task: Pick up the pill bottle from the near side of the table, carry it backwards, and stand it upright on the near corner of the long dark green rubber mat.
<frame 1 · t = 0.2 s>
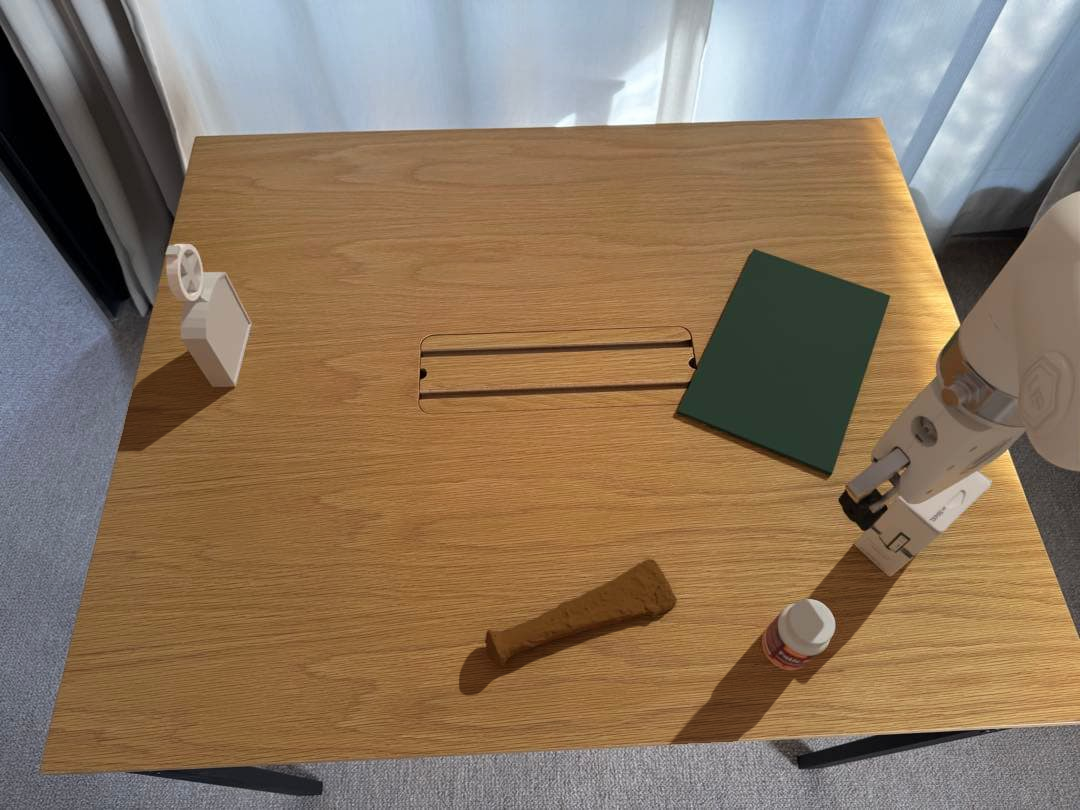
hand: (899, 488, 63), 19 cm above the table, tool pointing down, fingers open, 9 cm apart
ink box: (895, 537, 80), on the table
pill bottle: (785, 646, 74), on the table
mat: (787, 353, 93), on the table
primitive tool: (581, 614, 76), on the table
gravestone: (233, 355, 93), on the table
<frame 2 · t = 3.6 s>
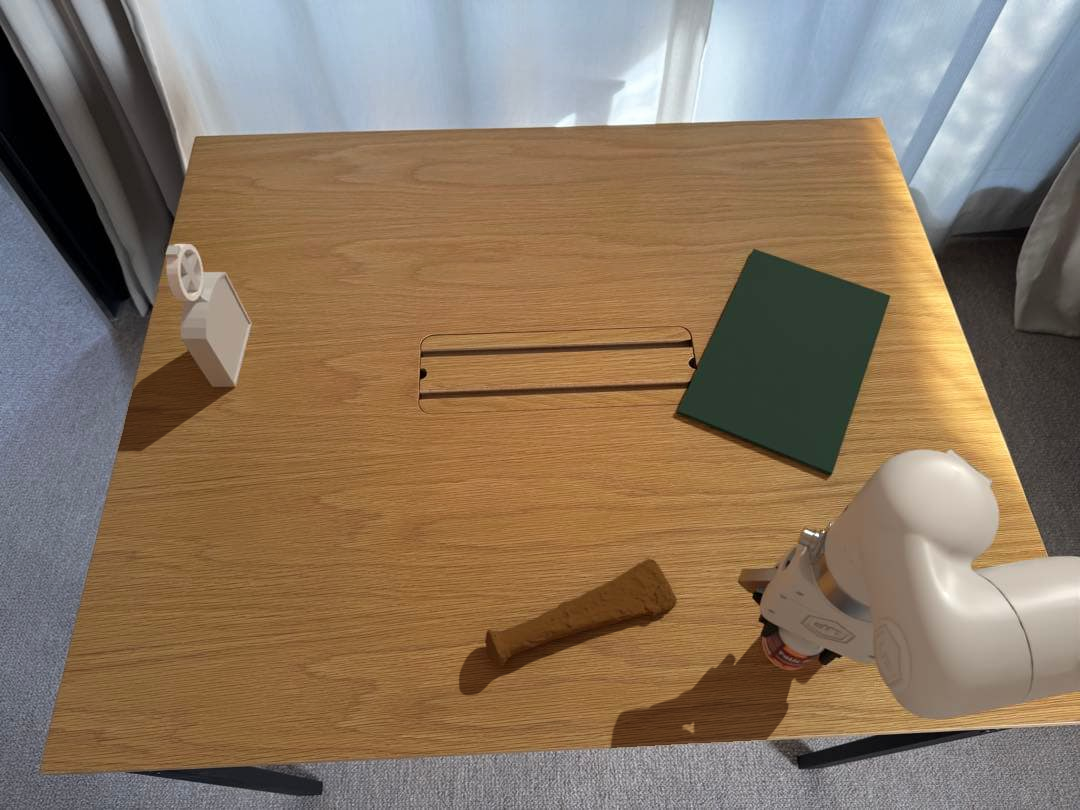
hand: (797, 635, 71), 4 cm above the table, tool pointing down, fingers closed on pill bottle, 4 cm apart
pill bottle: (785, 646, 74), on the table, touching gripper
everything else where it was.
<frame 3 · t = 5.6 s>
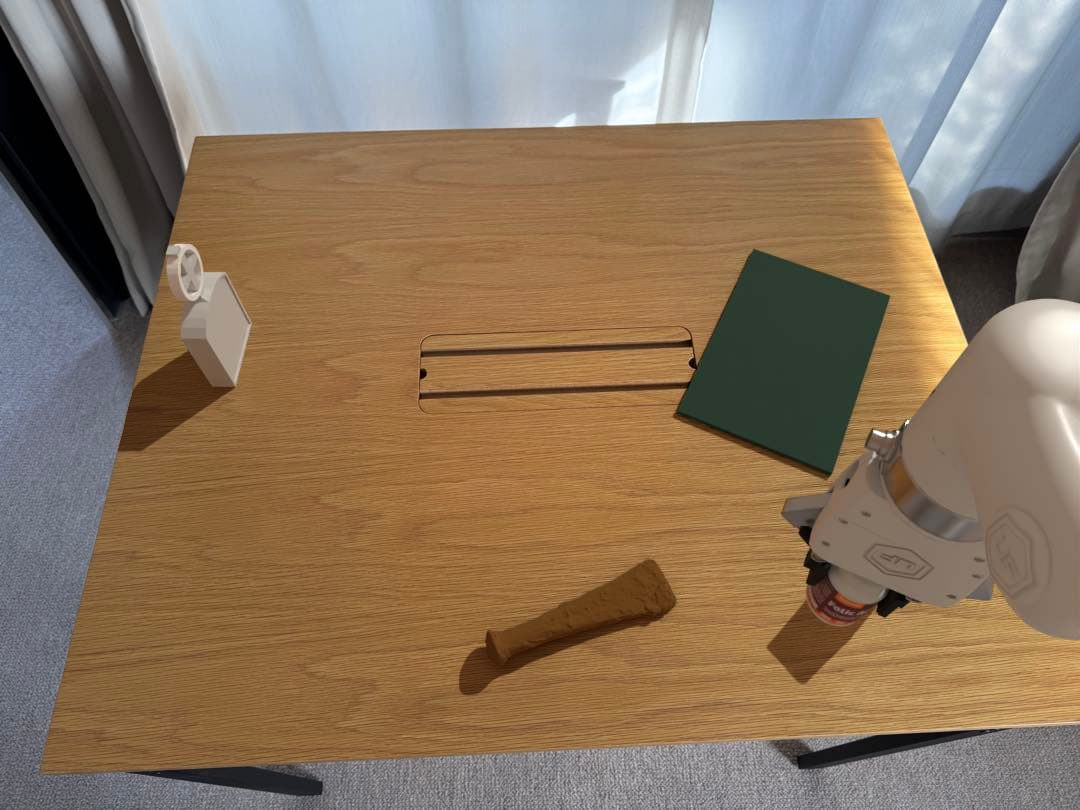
hand: (849, 583, 60), 17 cm above the table, tool pointing down, fingers closed on pill bottle, 4 cm apart
pill bottle: (833, 599, 63), point 13 cm above the table, touching gripper
everything else where it was.
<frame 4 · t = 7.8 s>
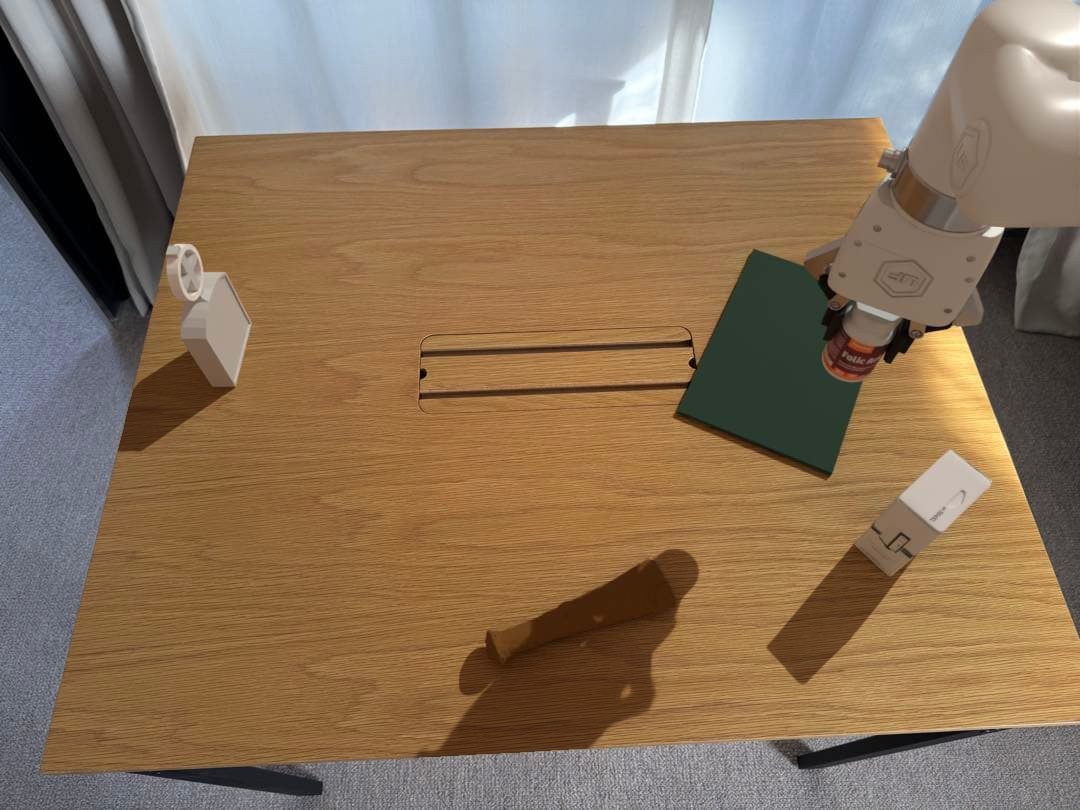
hand: (860, 339, 69), 20 cm above the table, tool pointing down, fingers closed on pill bottle, 4 cm apart
pill bottle: (845, 364, 73), point 16 cm above the table, touching gripper
everything else where it was.
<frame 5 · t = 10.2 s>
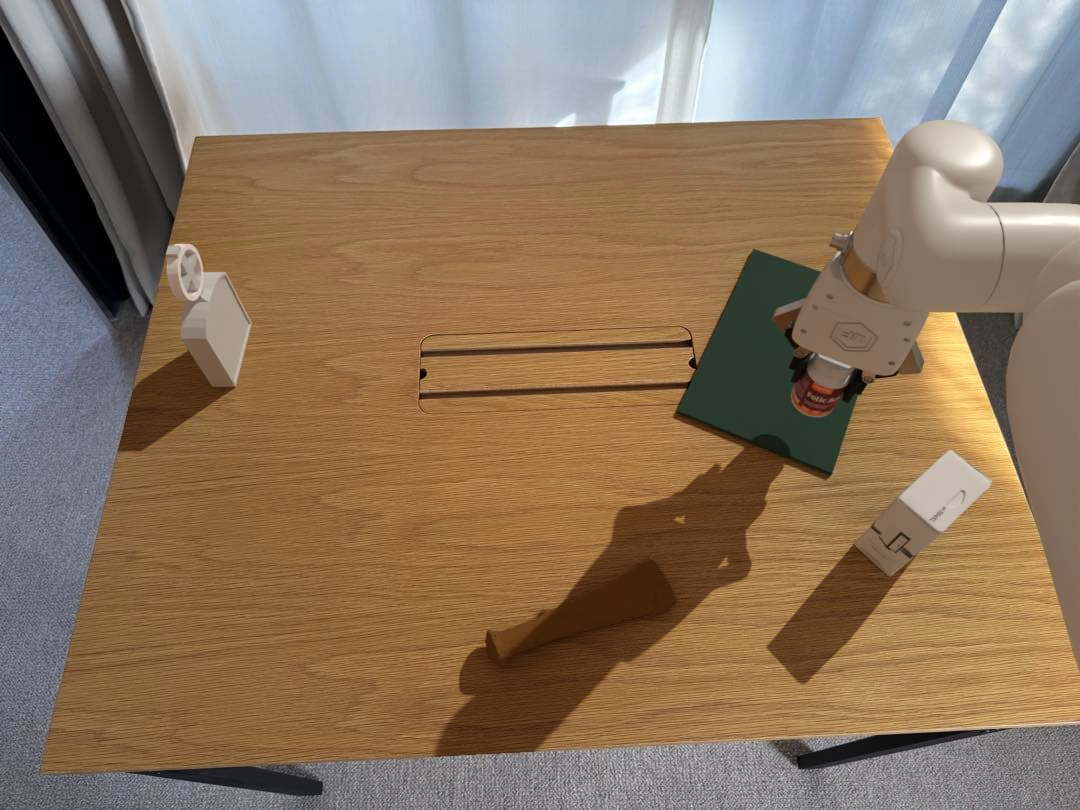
hand: (823, 381, 80), 9 cm above the table, tool pointing down, fingers closed on pill bottle, 4 cm apart
pill bottle: (811, 401, 84), point 5 cm above the table, touching gripper
everything else where it was.
when the fingers open (4 cm above the table, at t = 11.7 s): pill bottle stays where it is, resting on mat.
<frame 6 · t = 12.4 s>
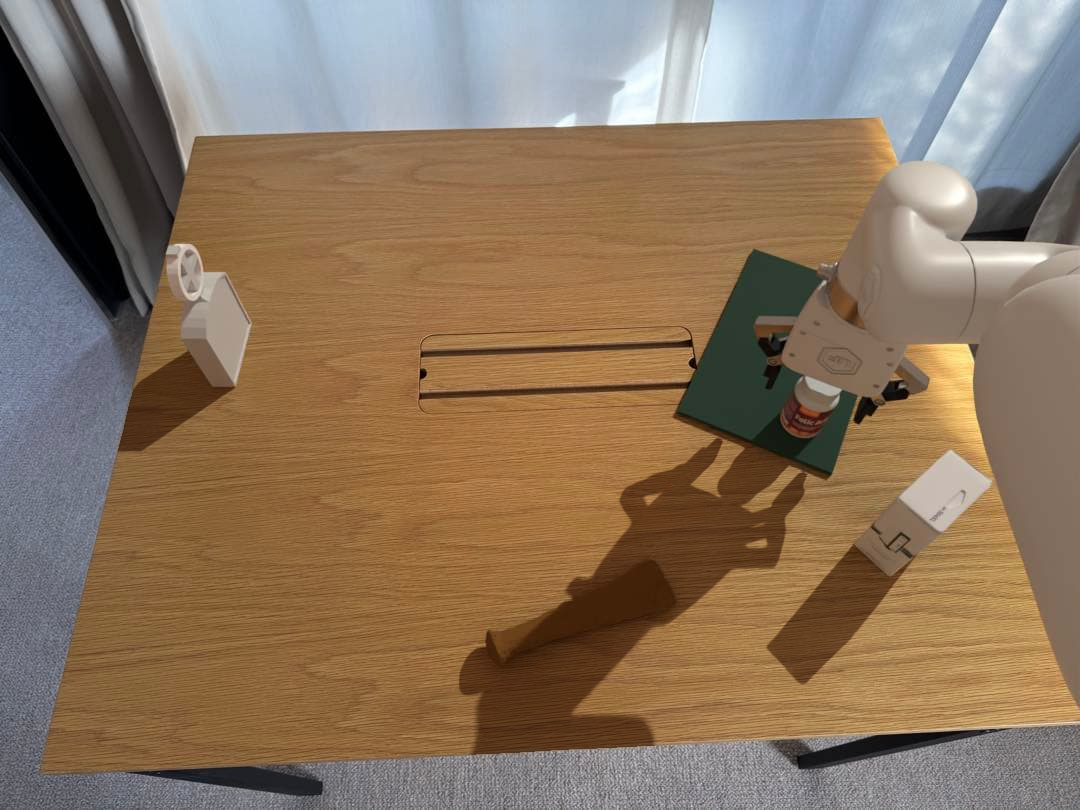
hand: (814, 396, 83), 6 cm above the table, tool pointing down, fingers open, 9 cm apart
pill bottle: (800, 422, 87), resting on mat
everything else where it was.
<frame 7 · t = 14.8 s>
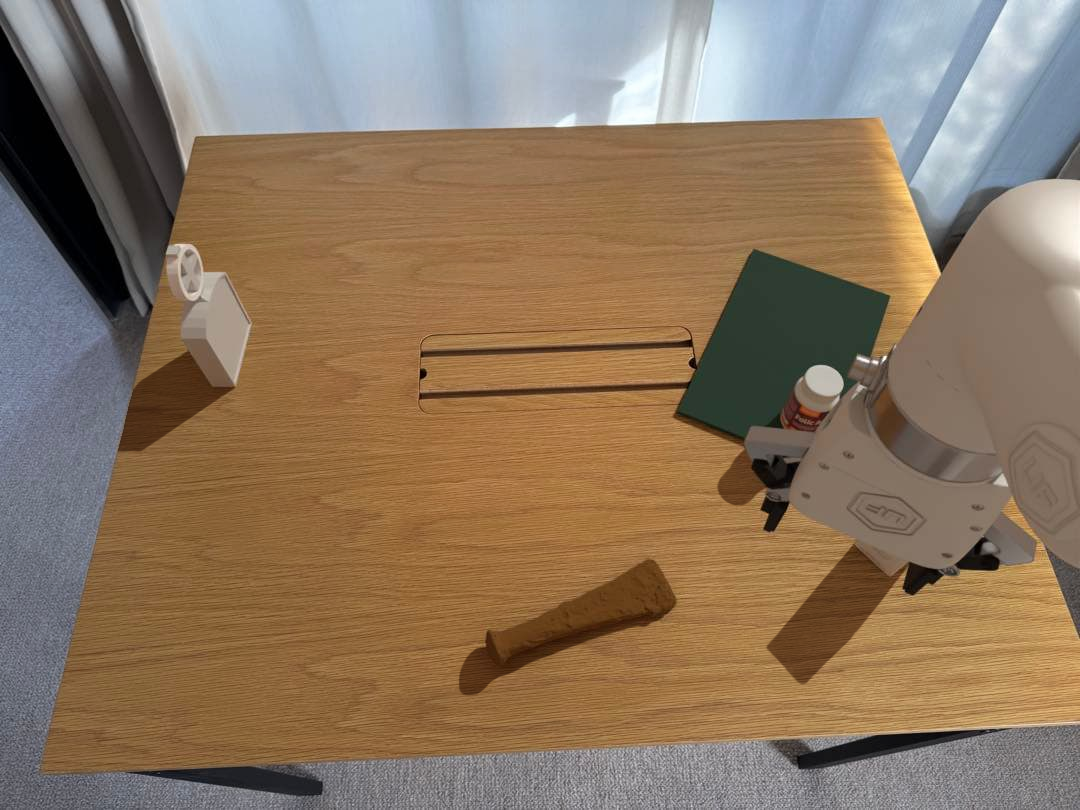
hand: (841, 544, 53), 25 cm above the table, tool pointing down, fingers open, 9 cm apart
nothing on the table moved.
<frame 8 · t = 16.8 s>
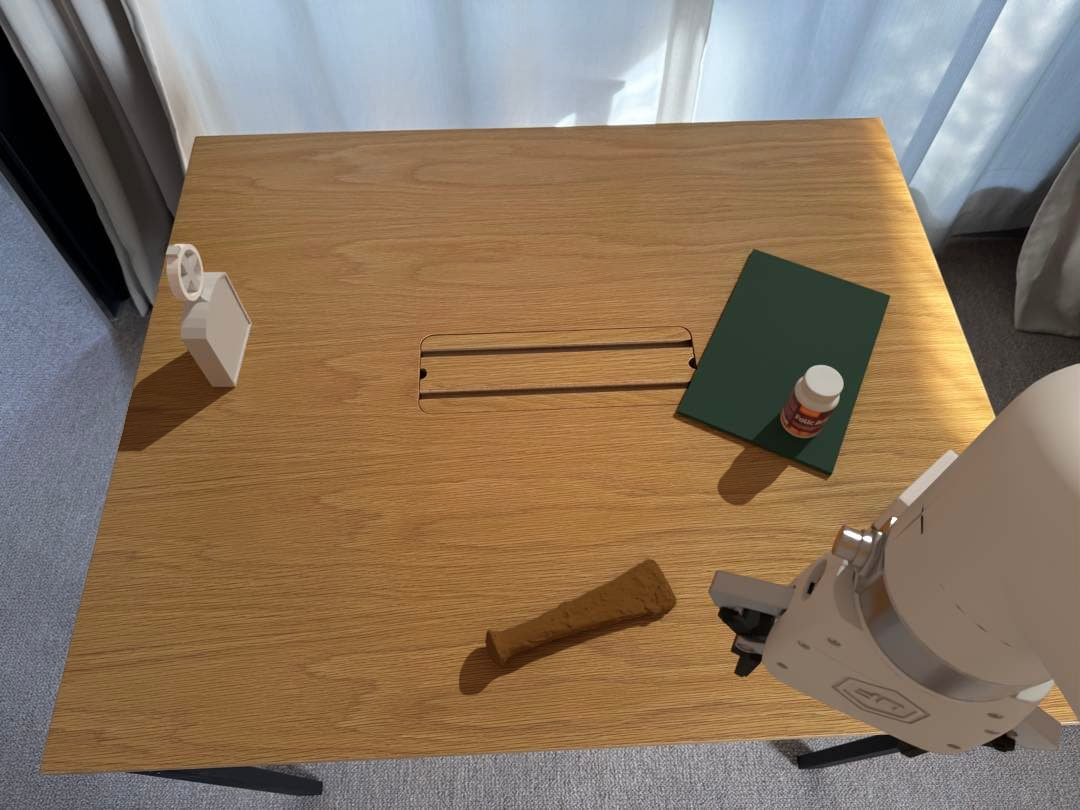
hand: (825, 690, 45), 28 cm above the table, tool pointing down, fingers open, 9 cm apart
nothing on the table moved.
at the end: pill bottle 0.1 cm from the target spot on the mat, point 0.4 cm above the mat's base; pill bottle tilted 0°; the gripper is holding nothing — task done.
